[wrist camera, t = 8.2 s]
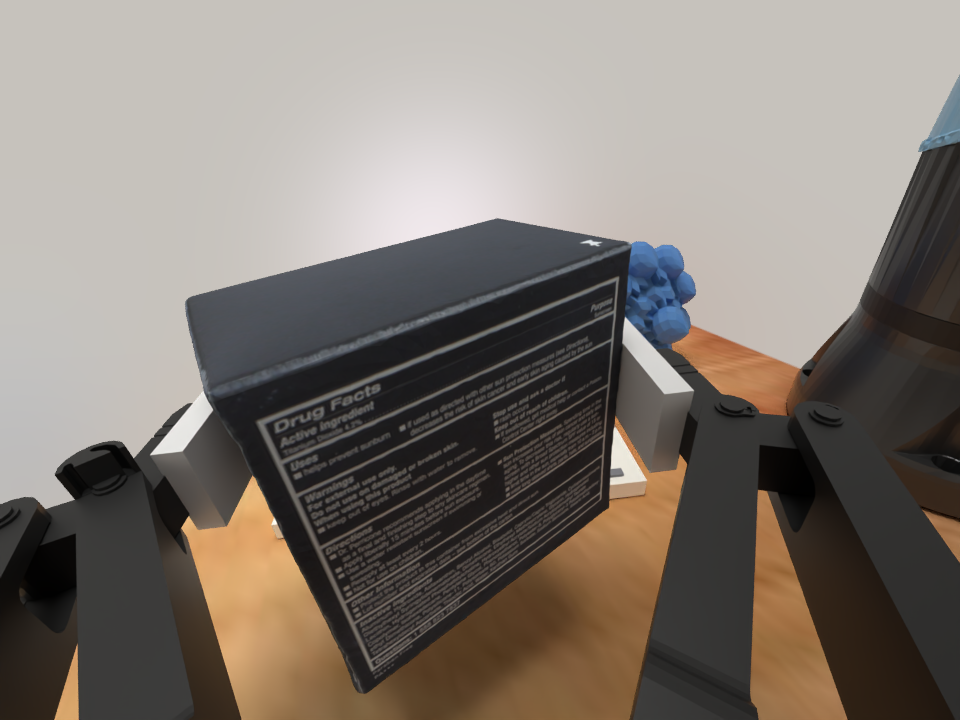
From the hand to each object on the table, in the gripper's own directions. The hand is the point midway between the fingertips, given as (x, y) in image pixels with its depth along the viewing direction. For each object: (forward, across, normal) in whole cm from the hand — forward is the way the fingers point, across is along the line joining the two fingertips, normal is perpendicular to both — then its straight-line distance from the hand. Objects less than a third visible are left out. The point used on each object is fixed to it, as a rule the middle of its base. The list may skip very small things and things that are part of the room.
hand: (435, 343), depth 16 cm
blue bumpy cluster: (+14, +16, -14) cm, 25 cm away
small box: (-4, 0, -6) cm, 7 cm away
